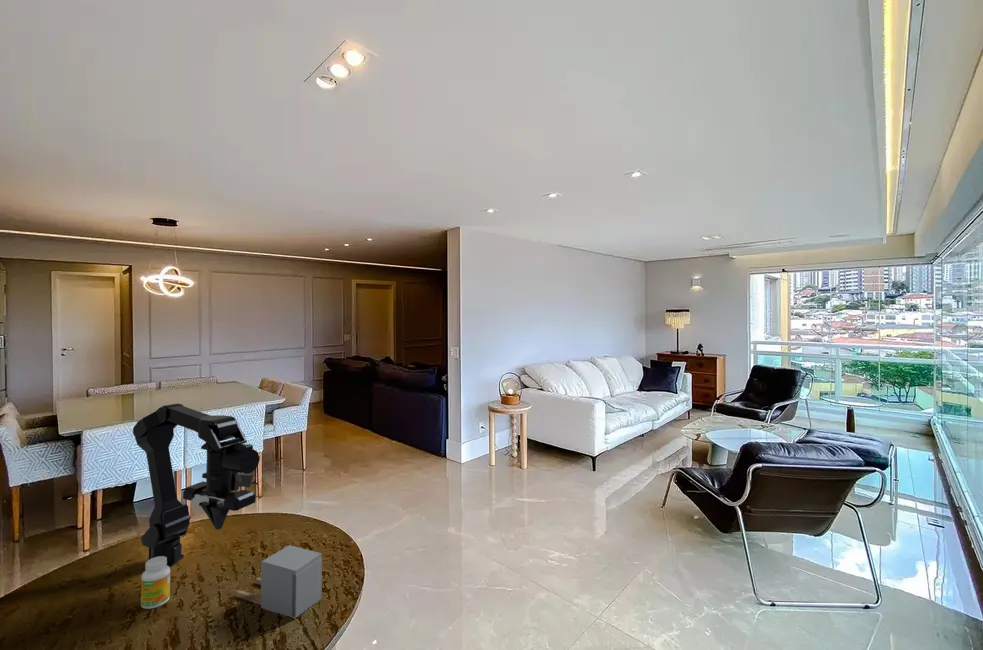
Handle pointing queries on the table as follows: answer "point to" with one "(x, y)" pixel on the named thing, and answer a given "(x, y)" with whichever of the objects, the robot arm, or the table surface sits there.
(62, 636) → the table surface
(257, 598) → the track
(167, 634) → the table surface
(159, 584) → the supplement bottle
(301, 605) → the socket
